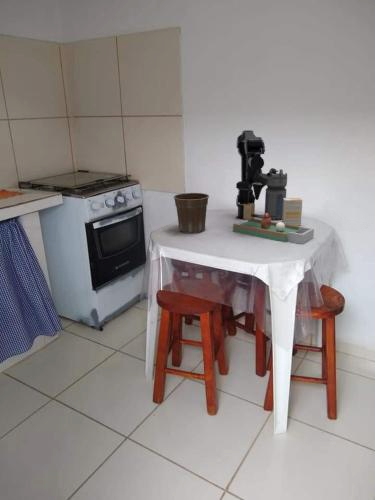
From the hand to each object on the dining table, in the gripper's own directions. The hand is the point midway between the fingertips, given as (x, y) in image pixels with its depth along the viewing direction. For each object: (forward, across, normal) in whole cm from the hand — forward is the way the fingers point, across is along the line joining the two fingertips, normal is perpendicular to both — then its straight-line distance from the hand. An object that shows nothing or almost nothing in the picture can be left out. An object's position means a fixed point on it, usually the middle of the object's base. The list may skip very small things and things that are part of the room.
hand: (251, 201), depth 179 cm
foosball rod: (+10, -1, -3) cm, 11 cm away
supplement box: (+13, +16, -13) cm, 24 cm away
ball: (+9, -1, -15) cm, 18 cm away
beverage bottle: (+13, +25, +1) cm, 29 cm away
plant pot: (+13, -16, +22) cm, 31 cm away
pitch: (+13, -1, -12) cm, 18 cm away
